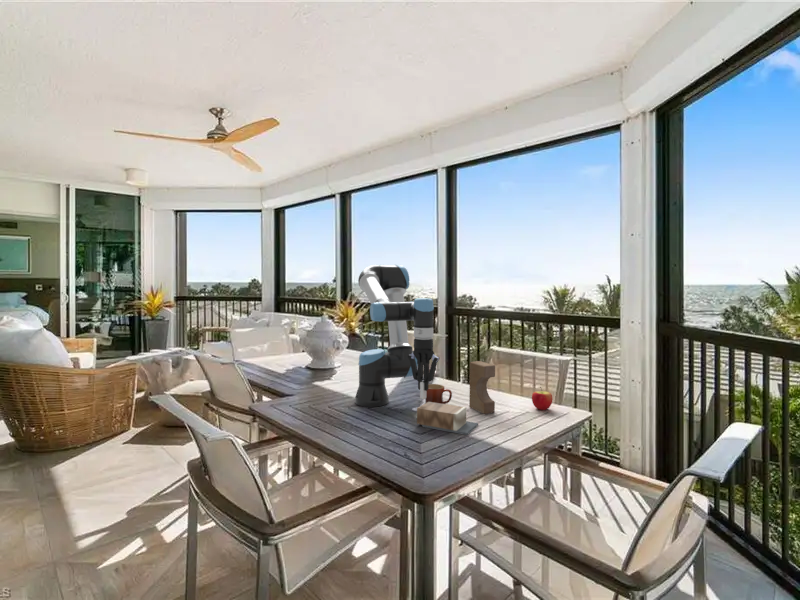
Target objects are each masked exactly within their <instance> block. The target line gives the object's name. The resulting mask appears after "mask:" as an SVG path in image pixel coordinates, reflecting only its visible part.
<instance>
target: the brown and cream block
mask: <svg viewBox="0 0 800 600" xmlns="http://www.w3.org/2000/svg"><path fill="white" fill-rule="evenodd" d="M466 421H467V406H461V405H455V404H448V403H446V404H441V403H434V402H427V403H423V404H421V405H420V406H418V407H417V408H416V424H417V425H421V426H422V425H427V426H433V427H438V428H444V429H449V430H454V431H457V430H458V429H460V428H461V427H462V426H463V425H464V424H466Z"/></svg>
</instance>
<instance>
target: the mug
mask: <svg viewBox="0 0 800 600" xmlns="http://www.w3.org/2000/svg"><path fill="white" fill-rule="evenodd" d="M445 392H447V393H449V397H448V399H447V400H444V397H443V396H444V393H445ZM452 397H453V392H452V390H451V389H450V388H445V385H443V384H438V383H429V389H428V390H427V393H426V398H425V399H424V402H425V403H427V402H434V403H441V404H448V403H450V402H451V400H452ZM425 403H424V404H425Z"/></svg>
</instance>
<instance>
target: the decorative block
mask: <svg viewBox="0 0 800 600" xmlns="http://www.w3.org/2000/svg"><path fill="white" fill-rule="evenodd" d="M494 377H496V365H495V364H492V363H489V362H488V363H487V362H485V361H481V360H476V361H470V362H469V399H468V400H469V408H470V409H472V410H474V411H476V412H479V413H481V414H483V415H488V414H495V412H496V411H495V407H496V405H495V403H496V402H495V400H493V399H492V398H491V397H490V394H489V392H488V387H487V386H488V385H487V384H488V381H489V379H491V378H494Z"/></svg>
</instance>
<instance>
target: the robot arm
mask: <svg viewBox="0 0 800 600" xmlns="http://www.w3.org/2000/svg"><path fill="white" fill-rule="evenodd" d="M357 279H358V286H359V288H360V290H361V291H362V292H364V293H365V295H366V297H367V299H368V301H369V303H370V307H369V315H370V319H371V321H373V322H380V323H381V322H387V323H388V335H389V346H388V348H387V352H386V351H385V350H384V349H382V348H378V349H377V348H376V349H375V348H374V349H369V350H365V351H363V352H361V353H360V354H359V357H358V388H357V391H356V394H355V398H354V403H355V404H356V405H358V406H359V407H360V406H361V407H366V408H367V407H370V408H372V407H373V408H374V407H381V406H385V405H387V404H389V401H390V397H389V393H388V390H387V386H386V379H396V378H404V379H405V378H410V377H411V378H413V380H415V381H417V388H418V389H417V390H419V399H420V400H425V398H426V393H427V390H428V389H429V384H430V382H432V381H434V377H435V374H436V370H437V365H438V362H439V361H440V356H437V355H436V354H435V352H434V339H433V338H434V310H435V305H434V299H433V298H430V297H418V298H415V299H414V300H411V301H405V294H406V293H407V289H409V287H410V276H409V272H408V269H407V267H405V266H404V265H401V264H400V265H398V264H393V265H391V264H383V265H382V264H379V265H378V264H373V265H369V266H367V267H366V268H364V269H363V270H361V272H360V273H359V276H358V278H357ZM409 321H413V337H414V338H413V346H412V345H411V344H410V343H409V336H408V325H407V322H409ZM431 360H432V362H431ZM430 362H431V365H430Z"/></svg>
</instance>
